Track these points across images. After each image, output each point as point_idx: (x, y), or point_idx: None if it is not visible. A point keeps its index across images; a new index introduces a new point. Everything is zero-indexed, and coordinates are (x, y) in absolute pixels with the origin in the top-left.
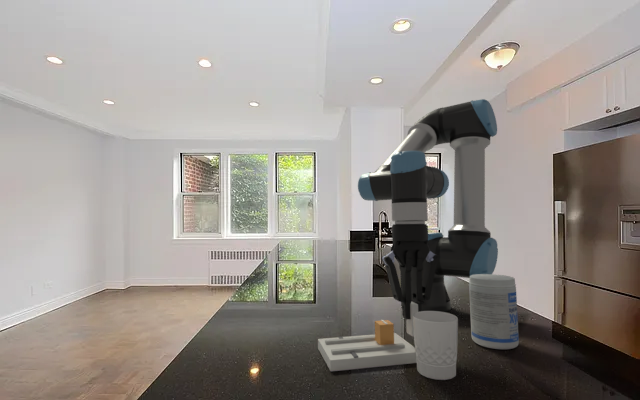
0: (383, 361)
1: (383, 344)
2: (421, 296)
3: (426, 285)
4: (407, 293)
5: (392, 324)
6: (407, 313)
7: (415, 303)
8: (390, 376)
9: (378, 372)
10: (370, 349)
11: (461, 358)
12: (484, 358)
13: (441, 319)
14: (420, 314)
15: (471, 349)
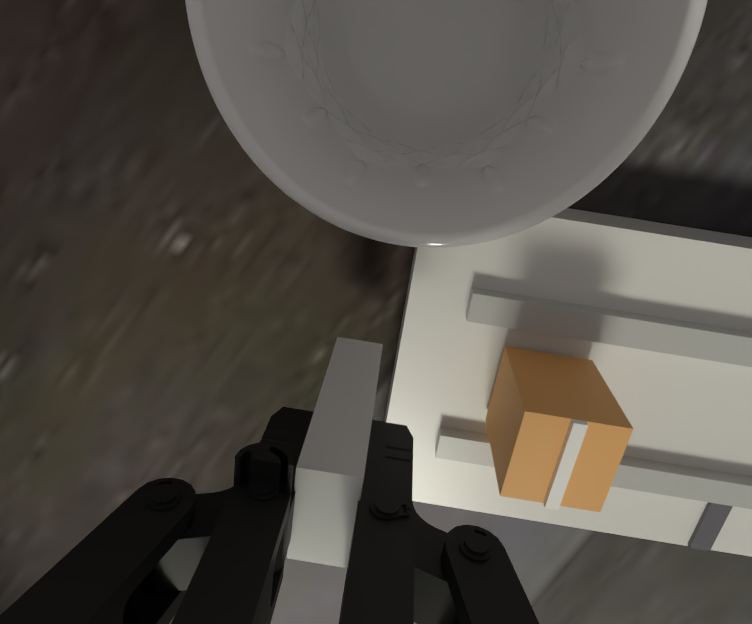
0: (655, 226)
1: (572, 358)
2: (230, 518)
3: (101, 618)
4: (391, 579)
5: (534, 410)
6: (393, 451)
7: (300, 497)
8: (704, 88)
9: (725, 161)
10: (692, 324)
11: (176, 145)
12: (49, 94)
13: (273, 122)
14: (459, 222)
15: (48, 230)
